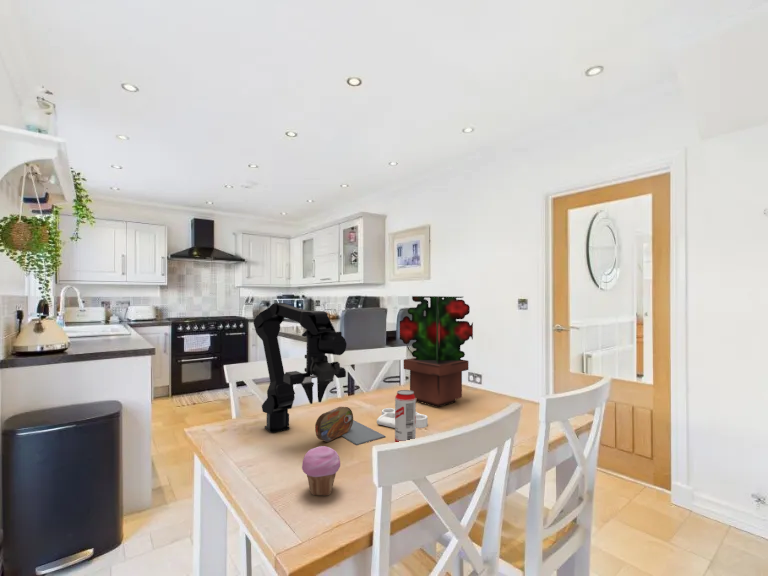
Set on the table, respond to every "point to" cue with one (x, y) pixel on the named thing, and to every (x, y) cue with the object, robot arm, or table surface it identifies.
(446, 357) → the potted plant
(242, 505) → the table surface
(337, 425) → the tin
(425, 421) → the white fidget spinner
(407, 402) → the beer can
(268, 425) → the robot arm
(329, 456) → the cupcake
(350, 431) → the mat
